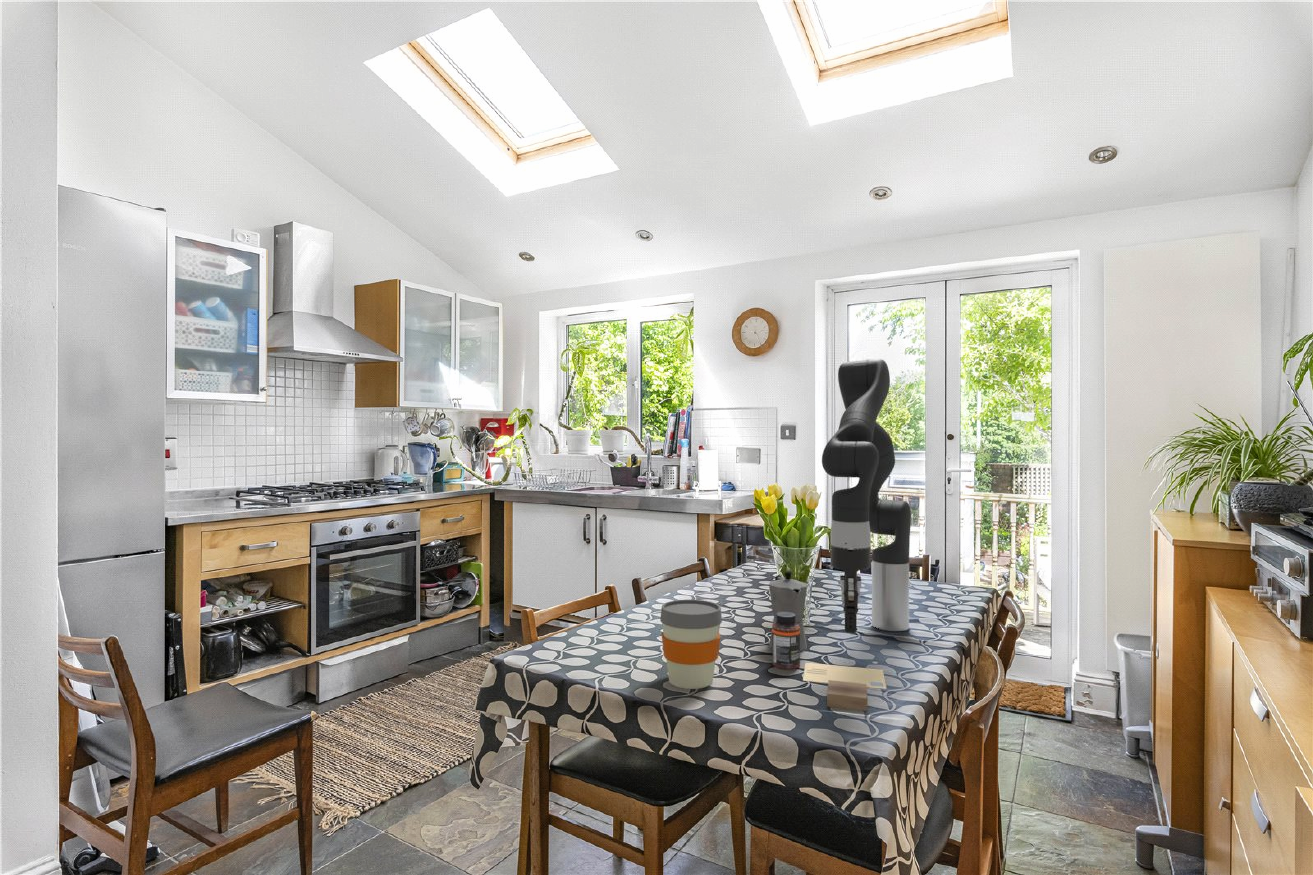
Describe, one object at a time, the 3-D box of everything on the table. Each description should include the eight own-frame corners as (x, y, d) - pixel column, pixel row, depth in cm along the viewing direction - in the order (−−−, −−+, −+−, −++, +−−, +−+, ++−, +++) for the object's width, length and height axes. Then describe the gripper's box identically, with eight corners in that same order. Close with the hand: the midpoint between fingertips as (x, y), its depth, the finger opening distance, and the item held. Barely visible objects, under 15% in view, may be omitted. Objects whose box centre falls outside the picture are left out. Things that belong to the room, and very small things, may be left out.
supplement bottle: (780, 659, 147) (780, 608, 147) (805, 665, 143) (805, 613, 143) (767, 666, 142) (767, 614, 142) (791, 673, 138) (792, 619, 138)
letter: (805, 664, 144) (805, 662, 144) (882, 671, 139) (882, 669, 139) (802, 681, 133) (802, 680, 133) (886, 690, 129) (886, 688, 129)
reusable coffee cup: (719, 670, 140) (720, 599, 140) (723, 693, 127) (724, 615, 127) (660, 669, 140) (661, 598, 140) (658, 691, 128) (659, 614, 128)
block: (828, 695, 127) (828, 680, 127) (866, 699, 125) (866, 684, 125) (827, 710, 120) (827, 693, 120) (867, 714, 118) (867, 698, 118)
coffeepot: (817, 656, 149) (817, 576, 149) (777, 657, 148) (777, 577, 148) (794, 635, 164) (794, 563, 164) (757, 637, 163) (758, 564, 163)
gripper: (830, 537, 136) (831, 620, 136) (830, 548, 123) (830, 640, 123) (869, 538, 134) (869, 623, 134) (872, 550, 121) (872, 643, 121)
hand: (850, 631), depth 129 cm, fingers closed
